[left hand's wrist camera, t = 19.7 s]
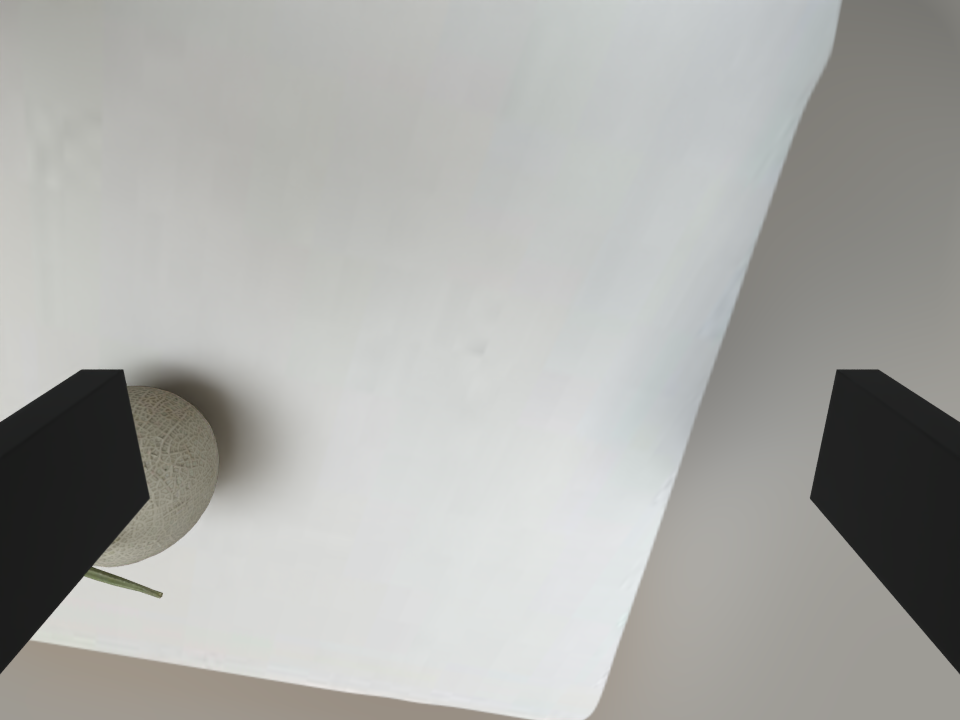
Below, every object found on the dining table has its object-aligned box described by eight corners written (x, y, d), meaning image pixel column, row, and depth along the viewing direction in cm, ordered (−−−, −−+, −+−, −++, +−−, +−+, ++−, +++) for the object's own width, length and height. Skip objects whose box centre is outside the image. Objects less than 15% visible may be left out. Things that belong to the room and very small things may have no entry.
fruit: (52, 407, 46) (-136, 536, 32) (186, 337, 44) (49, 441, 30) (143, 519, 49) (9, 681, 35) (271, 458, 47) (184, 604, 33)
